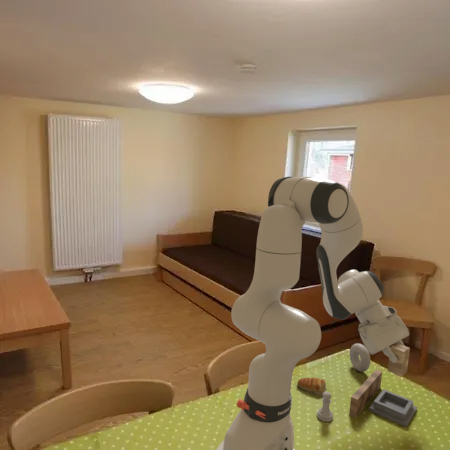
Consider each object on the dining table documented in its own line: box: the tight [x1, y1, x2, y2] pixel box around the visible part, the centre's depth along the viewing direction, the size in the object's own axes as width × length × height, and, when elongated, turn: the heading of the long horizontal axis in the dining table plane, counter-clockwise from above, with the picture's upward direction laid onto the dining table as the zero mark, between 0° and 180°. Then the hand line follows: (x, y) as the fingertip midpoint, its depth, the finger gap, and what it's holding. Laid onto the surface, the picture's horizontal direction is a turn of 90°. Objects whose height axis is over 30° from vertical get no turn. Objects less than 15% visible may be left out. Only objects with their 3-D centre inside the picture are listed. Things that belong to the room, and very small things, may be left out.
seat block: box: [368, 389, 418, 428], centre depth 116 cm, size 11×11×3 cm
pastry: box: [297, 376, 327, 396], centre depth 126 cm, size 9×7×4 cm
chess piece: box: [316, 391, 334, 423], centre depth 111 cm, size 5×5×8 cm
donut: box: [349, 342, 371, 373], centre depth 139 cm, size 10×4×10 cm, turn 16°
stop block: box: [387, 343, 411, 377], centre depth 114 cm, size 4×4×8 cm
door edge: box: [348, 369, 383, 419], centre depth 121 cm, size 22×2×6 cm, turn 139°
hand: (400, 359), depth 114 cm, fingers closed on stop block, 4 cm apart
